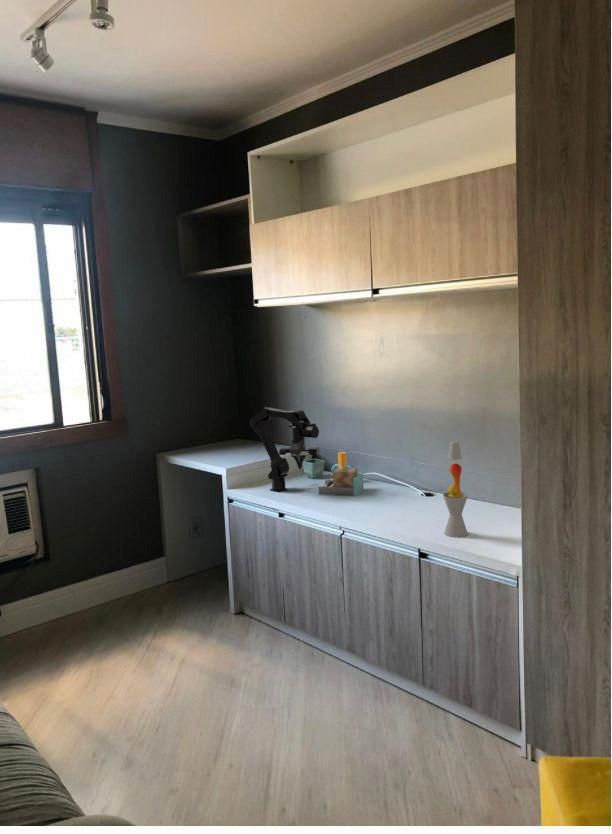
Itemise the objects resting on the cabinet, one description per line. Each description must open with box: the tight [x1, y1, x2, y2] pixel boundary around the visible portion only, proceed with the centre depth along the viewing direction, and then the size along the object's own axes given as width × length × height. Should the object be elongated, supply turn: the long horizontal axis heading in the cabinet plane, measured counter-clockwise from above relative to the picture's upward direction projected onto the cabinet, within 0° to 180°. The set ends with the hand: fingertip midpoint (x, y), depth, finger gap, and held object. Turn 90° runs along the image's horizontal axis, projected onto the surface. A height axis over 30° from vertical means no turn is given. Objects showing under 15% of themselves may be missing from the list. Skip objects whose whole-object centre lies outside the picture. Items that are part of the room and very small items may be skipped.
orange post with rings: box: [330, 451, 355, 474], centre depth 342 cm, size 12×10×15 cm
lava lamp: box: [442, 441, 469, 538], centre depth 249 cm, size 9×9×35 cm
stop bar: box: [353, 471, 364, 497], centre depth 319 cm, size 2×14×8 cm, turn 164°
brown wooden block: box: [332, 467, 358, 487], centre depth 321 cm, size 10×9×7 cm
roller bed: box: [318, 479, 354, 496], centre depth 322 cm, size 17×14×4 cm
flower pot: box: [302, 458, 326, 479], centre depth 354 cm, size 9×9×9 cm
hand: (300, 468), depth 320 cm, fingers closed
